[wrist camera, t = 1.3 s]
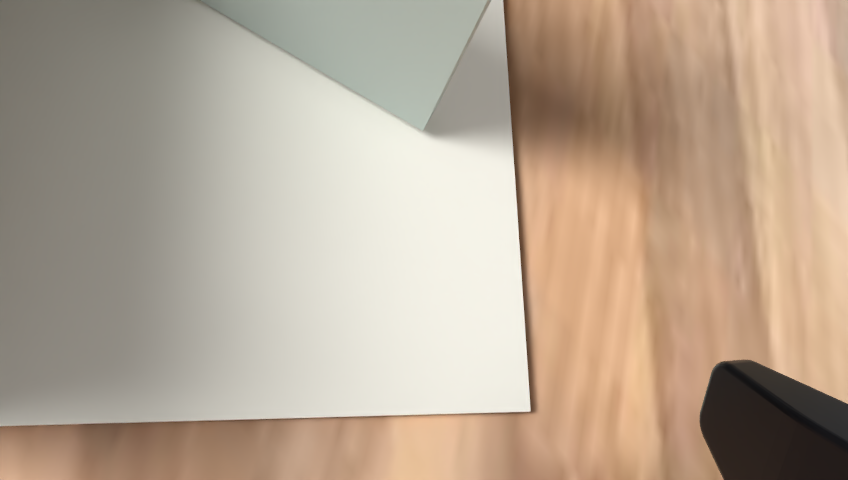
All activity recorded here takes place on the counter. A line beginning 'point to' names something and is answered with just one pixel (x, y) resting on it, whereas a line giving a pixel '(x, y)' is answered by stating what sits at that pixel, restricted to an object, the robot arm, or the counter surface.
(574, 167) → the counter surface
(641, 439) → the counter surface
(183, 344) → the card
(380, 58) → the hinged panel
